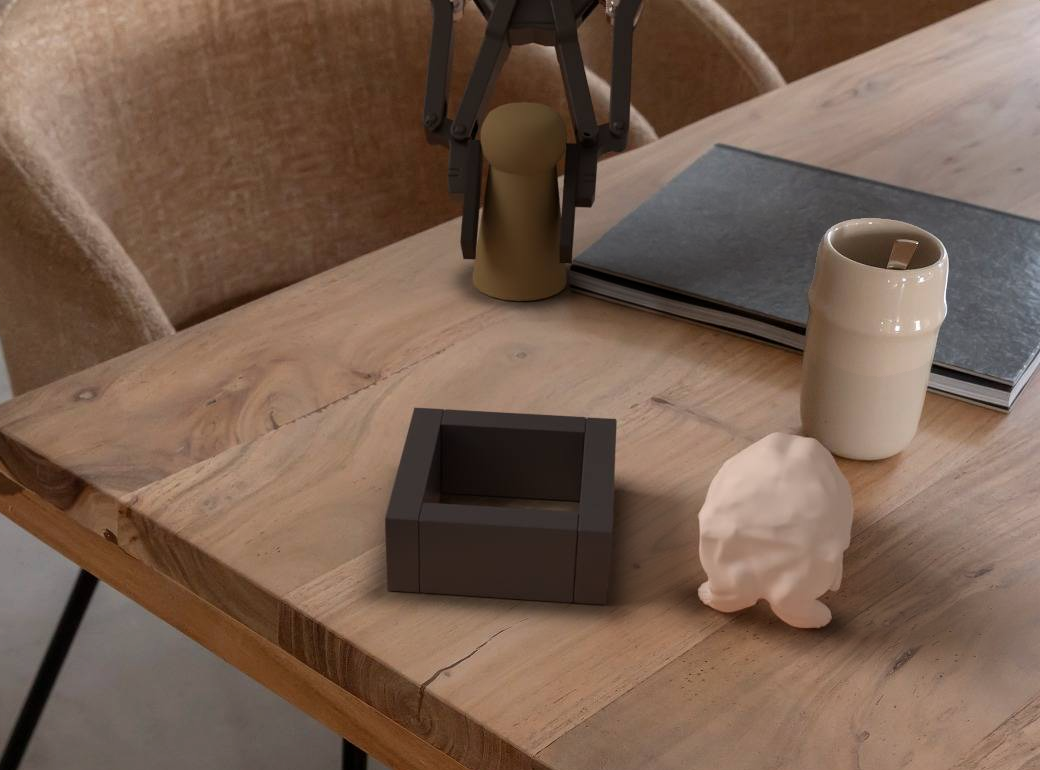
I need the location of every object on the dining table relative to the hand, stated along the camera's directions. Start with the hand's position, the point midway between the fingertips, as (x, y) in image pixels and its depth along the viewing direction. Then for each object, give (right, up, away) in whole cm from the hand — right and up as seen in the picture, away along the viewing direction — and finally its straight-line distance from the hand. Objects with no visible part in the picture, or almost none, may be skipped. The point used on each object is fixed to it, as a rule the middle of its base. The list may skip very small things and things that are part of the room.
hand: (516, 252), depth 89 cm
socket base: (-1, -18, -18) cm, 26 cm away
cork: (0, -1, +5) cm, 5 cm away
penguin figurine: (+11, -20, -21) cm, 31 cm away
